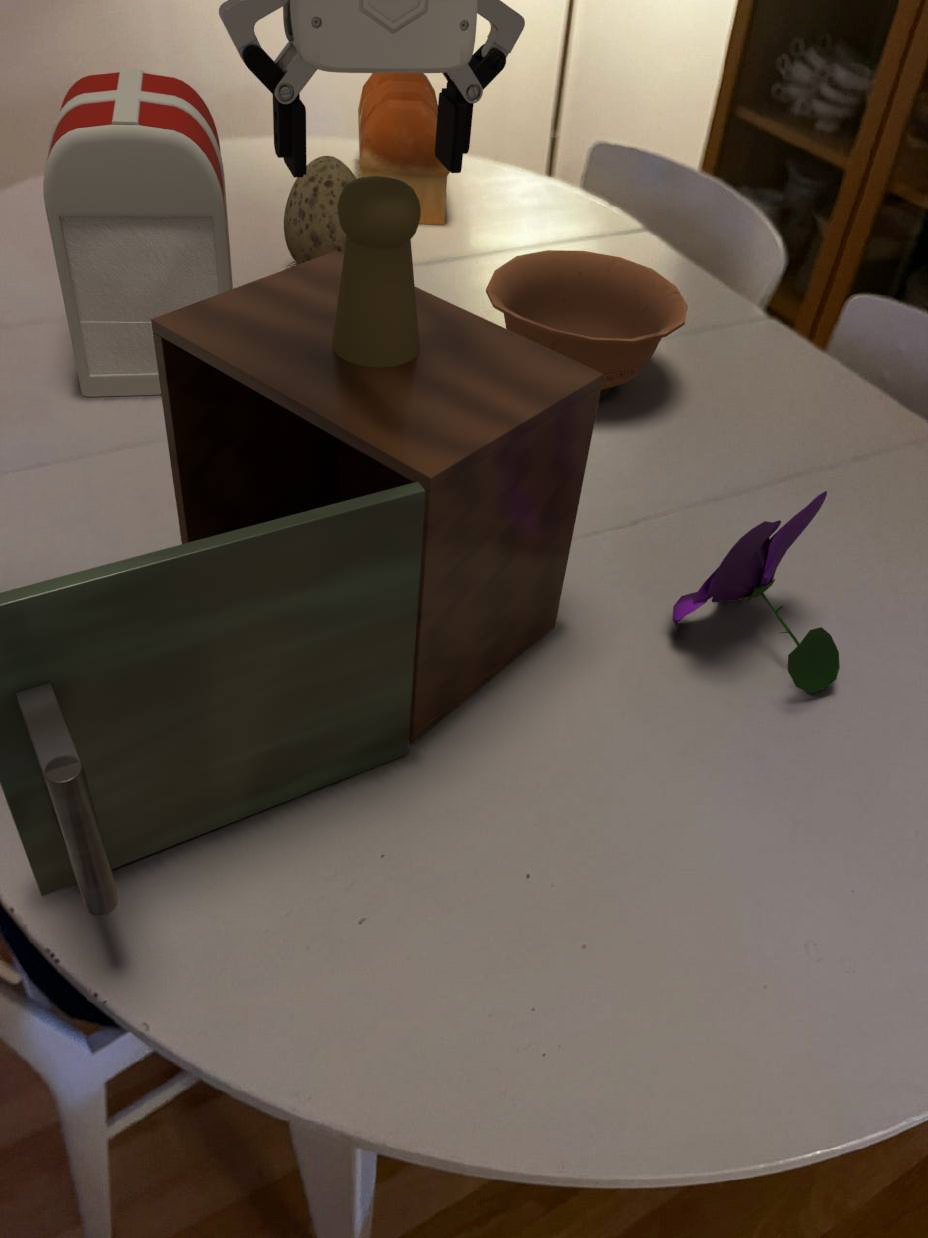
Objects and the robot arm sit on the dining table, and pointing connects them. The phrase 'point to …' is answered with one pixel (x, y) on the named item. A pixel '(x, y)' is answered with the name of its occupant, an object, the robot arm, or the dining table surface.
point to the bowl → (589, 308)
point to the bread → (403, 137)
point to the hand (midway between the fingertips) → (372, 167)
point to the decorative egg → (316, 210)
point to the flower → (750, 577)
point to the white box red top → (133, 219)
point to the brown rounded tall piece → (377, 274)
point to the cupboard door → (205, 683)
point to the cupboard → (388, 453)
